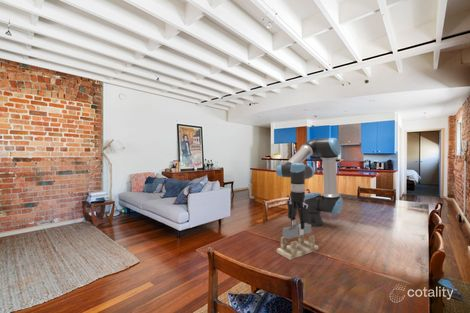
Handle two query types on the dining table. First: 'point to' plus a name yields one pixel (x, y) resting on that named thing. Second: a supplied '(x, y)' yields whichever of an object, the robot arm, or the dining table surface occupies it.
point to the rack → (297, 247)
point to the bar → (295, 231)
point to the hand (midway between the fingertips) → (297, 233)
